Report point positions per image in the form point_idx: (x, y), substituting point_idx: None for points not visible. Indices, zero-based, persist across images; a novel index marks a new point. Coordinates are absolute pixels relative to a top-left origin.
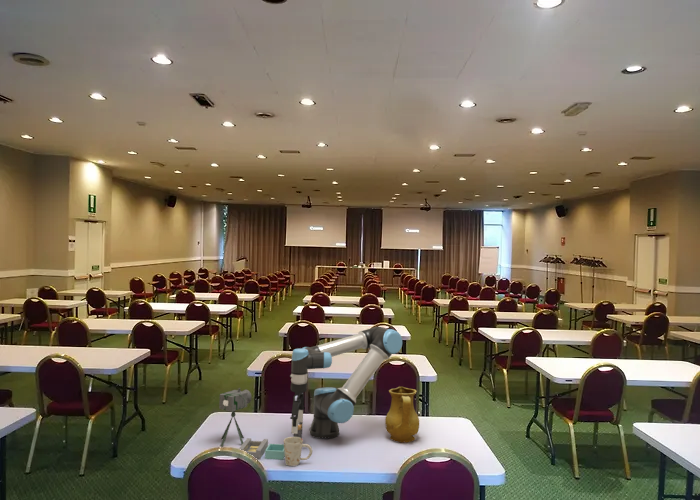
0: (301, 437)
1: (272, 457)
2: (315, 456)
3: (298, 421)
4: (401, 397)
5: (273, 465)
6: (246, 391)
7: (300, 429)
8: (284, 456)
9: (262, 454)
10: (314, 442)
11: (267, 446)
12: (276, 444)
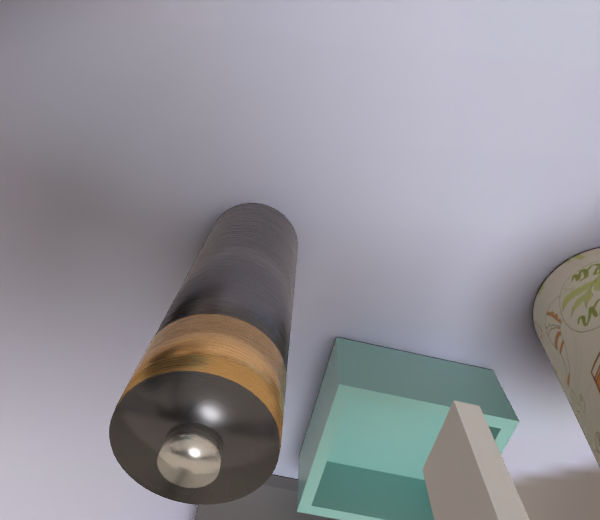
0: (262, 263)
1: None
2: (491, 64)
3: (172, 459)
4: None
5: (583, 435)
6: None
7: (271, 346)
8: (447, 365)
9: None
10: (49, 37)
11: None
12: (323, 466)
